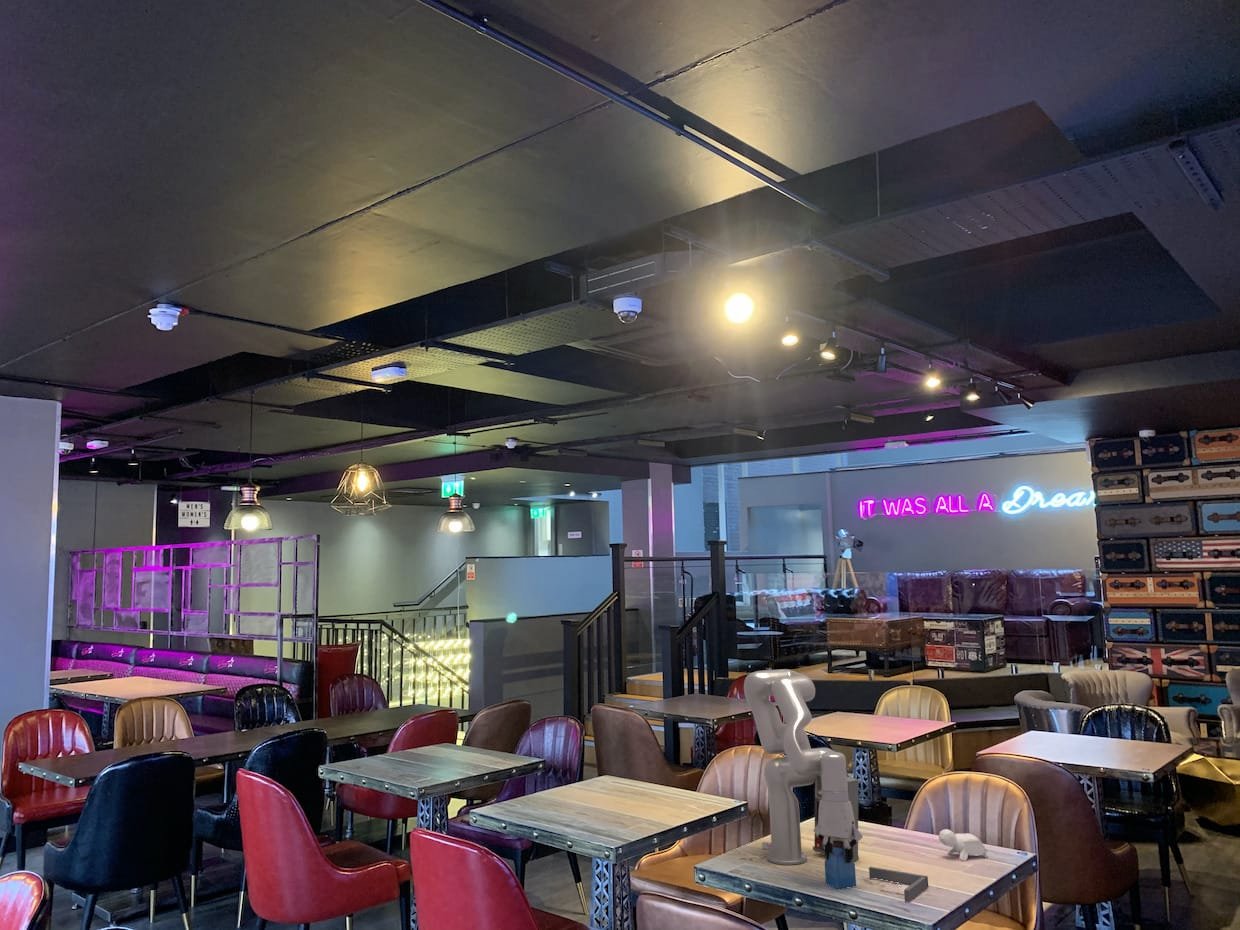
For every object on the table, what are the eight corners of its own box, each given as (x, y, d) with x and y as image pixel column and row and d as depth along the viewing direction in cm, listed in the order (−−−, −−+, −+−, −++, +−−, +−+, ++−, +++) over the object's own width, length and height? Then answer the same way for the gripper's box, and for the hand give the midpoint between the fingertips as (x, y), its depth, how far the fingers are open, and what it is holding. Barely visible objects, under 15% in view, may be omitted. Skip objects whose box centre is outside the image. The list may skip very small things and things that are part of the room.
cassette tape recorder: (812, 851, 287) (813, 772, 289) (824, 848, 290) (825, 770, 293) (846, 864, 276) (846, 782, 278) (858, 860, 279) (859, 779, 282)
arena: (850, 891, 251) (849, 879, 251) (871, 877, 263) (870, 866, 263) (909, 902, 240) (908, 890, 241) (928, 887, 252) (927, 876, 252)
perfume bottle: (838, 889, 252) (835, 845, 254) (825, 883, 258) (823, 840, 260) (856, 886, 255) (853, 843, 256) (843, 880, 260) (840, 838, 262)
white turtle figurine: (970, 861, 285) (929, 847, 282) (976, 835, 286) (936, 821, 284) (986, 869, 276) (944, 854, 274) (992, 842, 278) (951, 827, 276)
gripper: (803, 795, 262) (806, 858, 260) (857, 801, 252) (861, 868, 249) (814, 790, 268) (818, 852, 266) (867, 796, 258) (872, 861, 255)
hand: (839, 859), depth 257 cm, fingers closed on perfume bottle, 5 cm apart
